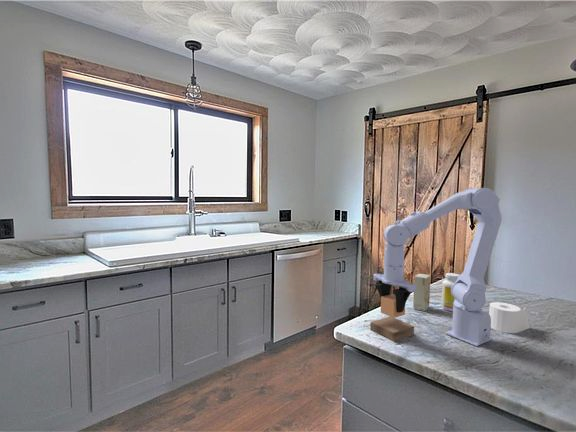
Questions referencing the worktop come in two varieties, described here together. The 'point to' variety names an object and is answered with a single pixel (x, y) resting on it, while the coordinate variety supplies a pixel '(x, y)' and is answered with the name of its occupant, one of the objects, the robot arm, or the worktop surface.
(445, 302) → the supplement bottle
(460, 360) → the worktop surface
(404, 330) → the walnut block
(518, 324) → the toilet paper
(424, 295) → the skincare box
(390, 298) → the orange cube
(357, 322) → the worktop surface
